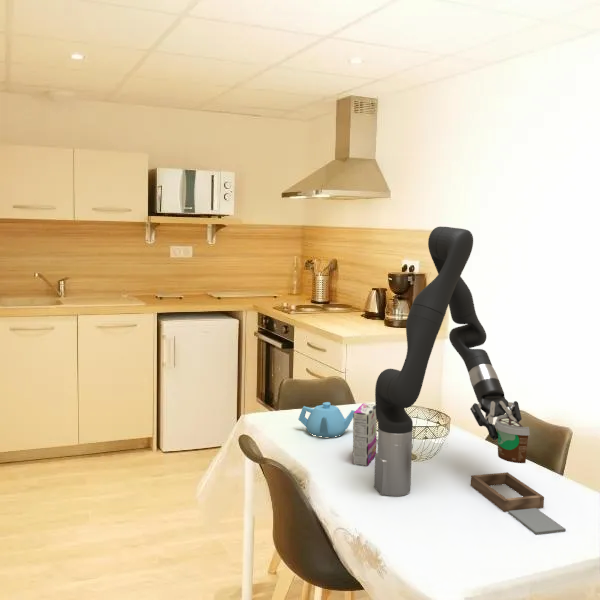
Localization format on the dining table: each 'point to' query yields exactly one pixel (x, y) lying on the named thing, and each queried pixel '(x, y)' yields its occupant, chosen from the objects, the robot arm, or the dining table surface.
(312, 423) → the teapot
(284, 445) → the dining table surface
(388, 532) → the dining table surface
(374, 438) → the candy bar box
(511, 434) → the food container
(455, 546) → the dining table surface
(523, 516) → the rubber mat
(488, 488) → the walnut frame
